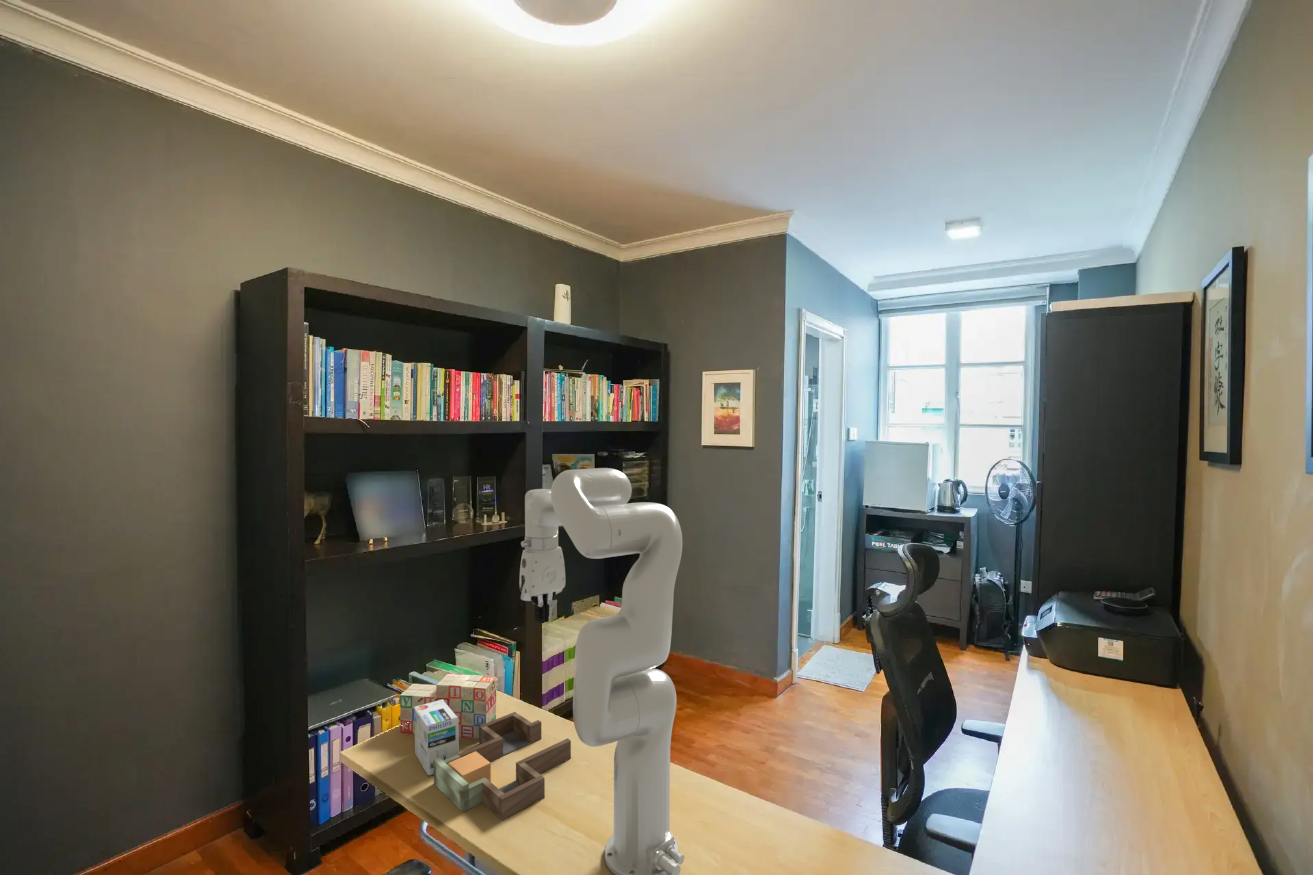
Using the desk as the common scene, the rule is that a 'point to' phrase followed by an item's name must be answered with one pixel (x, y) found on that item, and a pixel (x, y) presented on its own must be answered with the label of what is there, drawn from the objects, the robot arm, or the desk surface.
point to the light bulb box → (435, 733)
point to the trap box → (495, 744)
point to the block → (472, 767)
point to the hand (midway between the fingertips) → (542, 621)
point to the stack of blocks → (454, 701)
